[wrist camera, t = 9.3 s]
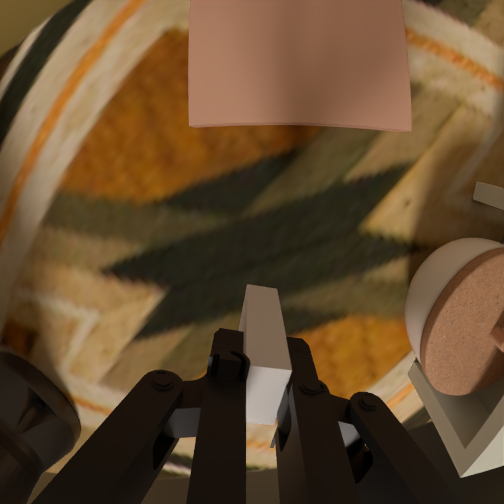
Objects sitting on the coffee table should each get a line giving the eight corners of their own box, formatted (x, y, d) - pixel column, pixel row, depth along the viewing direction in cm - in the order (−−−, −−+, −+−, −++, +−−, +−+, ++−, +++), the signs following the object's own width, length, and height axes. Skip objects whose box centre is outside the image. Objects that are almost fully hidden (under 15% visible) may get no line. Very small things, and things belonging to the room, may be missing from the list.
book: (196, 127, 21) (189, 125, 18) (197, 1, 18) (190, -14, 15) (396, 132, 20) (411, 131, 18) (388, 9, 17) (400, -3, 15)
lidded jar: (494, 215, 21) (571, 249, 12) (481, 327, 24) (535, 383, 16) (385, 228, 22) (450, 277, 13) (382, 351, 25) (421, 429, 16)
